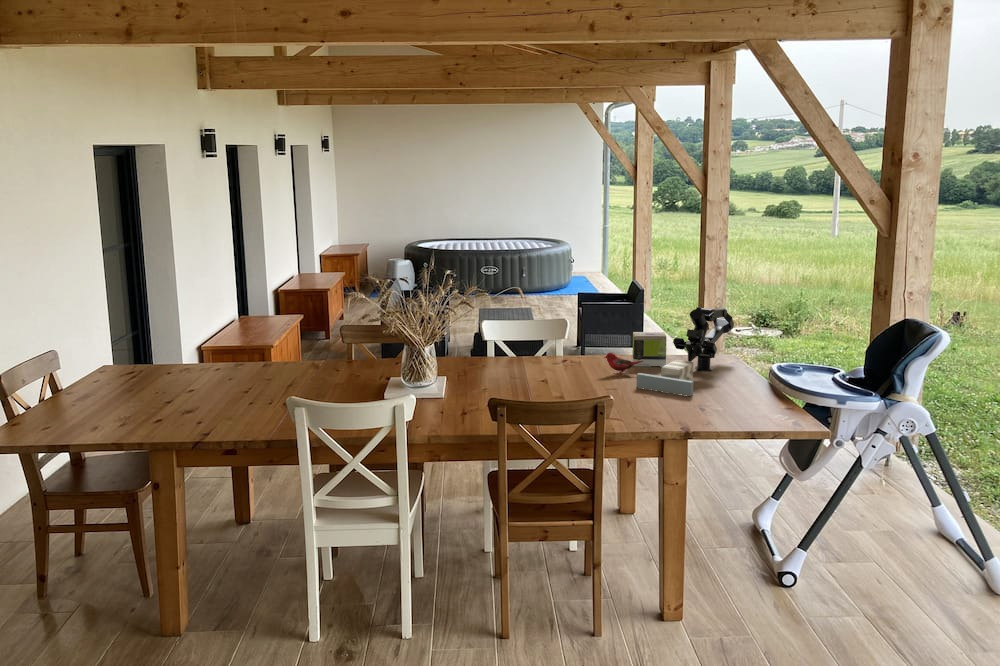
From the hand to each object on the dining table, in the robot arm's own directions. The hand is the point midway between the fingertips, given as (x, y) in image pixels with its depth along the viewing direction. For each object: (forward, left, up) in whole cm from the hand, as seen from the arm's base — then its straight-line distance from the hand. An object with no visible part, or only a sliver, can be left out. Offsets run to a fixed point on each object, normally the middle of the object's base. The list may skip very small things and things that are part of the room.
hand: (689, 361), depth 383 cm
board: (+23, -13, -7) cm, 27 cm away
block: (+11, -6, -8) cm, 15 cm away
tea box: (-24, -15, -8) cm, 29 cm away
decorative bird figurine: (-5, -28, -8) cm, 29 cm away
